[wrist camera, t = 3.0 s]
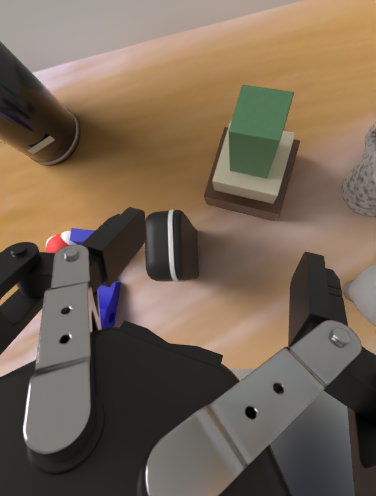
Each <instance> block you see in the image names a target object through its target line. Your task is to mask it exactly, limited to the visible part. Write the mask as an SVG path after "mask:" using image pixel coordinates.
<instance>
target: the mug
mask: <svg viewBox="0 0 376 496" xmlns="http://www.w3.org/2000/svg"><path fill="white" fill-rule="evenodd" d="M363 159H364V160H363V161H361V162H360V163H359V164H358V165H357V166H356V167H355V168H354V169H353V170H351V171H350V172H349V173H348V175H347V176H346V178H345V180H344V182H343V186H342V194H343V197H344V200H345V201H346V203H347V205H348V206H349V207H350V208H351V209H352V210H354V211H355V212H357V213H359V214H361V215H365V216H376V122H375V123H374V124H373V126H372V127H371V128H370V129H369V131H368V132H367V134H366V137H365V150H364V155H363Z"/></svg>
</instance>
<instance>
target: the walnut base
mask: <svg viewBox="0 0 376 496" xmlns="http://www.w3.org/2000/svg"><path fill="white" fill-rule="evenodd" d="M227 130H228V128H227V127H225V128H224V131H223V134H222V138H221V141H220V144H219V148H218V151H217V154H216V158H215V161H214V164H213V168H212V171H211V174H210V178H209V181H208V185H207V188H206V191H205V195H204V197H205V200H206V203H207V204H208V205H212V206H216V207H220V208H224V209H228V210H232V211H236V212H240V213H244V214H248V215H252V216H256V217H260V218H265V219H269V220H273V221H275V220H276V218H277V217H278V216H279V214H280V211H281V208H282V204H283V200H284V197H285V193H286V190H287V186H288V183H289V179H290V176H291V172H292V168H293V165H294V161H295V158H296V154H297V151H298V147H299V143H300V141H299V140H293V143H292V147H291V150H290V154H289V157H288V161H287V164H286V168H285V172H284V175H283V179H282V182H281V186H280V189H279V193H278V196H277V198H276V199H275V201H274V203H273V204H271V203H267V202H263V201H259V200H254V199H250V198H246V197H241V196H237V195H233V194H229V193H224V192H220V191H216V190H214V186H213V182H212V180H213V177H214V174H215V170H216V167H217V164H218V160H219V157H220V153H221V150H222V147H223V143H224V140H225V137H226V133H227Z"/></svg>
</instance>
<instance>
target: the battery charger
mask: <svg viewBox="0 0 376 496" xmlns="http://www.w3.org/2000/svg"><path fill="white" fill-rule="evenodd" d="M145 226H146V238H145V257H146V271H147V274H148V276H149V277H150V278H151V279H153V280H156V281H175V282H184V281H187V280H191V279H196V278H198V277H199V265H198V246H197V230H196V229H195V228H194V227H193V225H192V224H191V222H190V221H189V219H188V218H187V216H186V215H185V214H184V213H183V212H182V211H181V210H175V209H172V210H170V211H161V212H154V213H151V214H150V215H148V217H147V218H146V221H145Z"/></svg>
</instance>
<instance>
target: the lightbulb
mask: <svg viewBox="0 0 376 496" xmlns="http://www.w3.org/2000/svg"><path fill="white" fill-rule="evenodd" d="M343 291H344V295H345V297H346V298H347V299H348V300H350V301H352V302H354V303H355V305H356V307H357V309H358V311H359V312H360V313H361V314H362V315H363V316H364V317H365V318H366V319H367V320H368V321H369V322H370V323H372V324H374V325H375V326H376V264H373V265H371V266H369V267H368V268H366V269H365V270H363V271H362V272H361V273H360V274H359V276H358V277H357V279H356V280H352V281H349V282H347V283H346V284H345V286H344V290H343Z"/></svg>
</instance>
